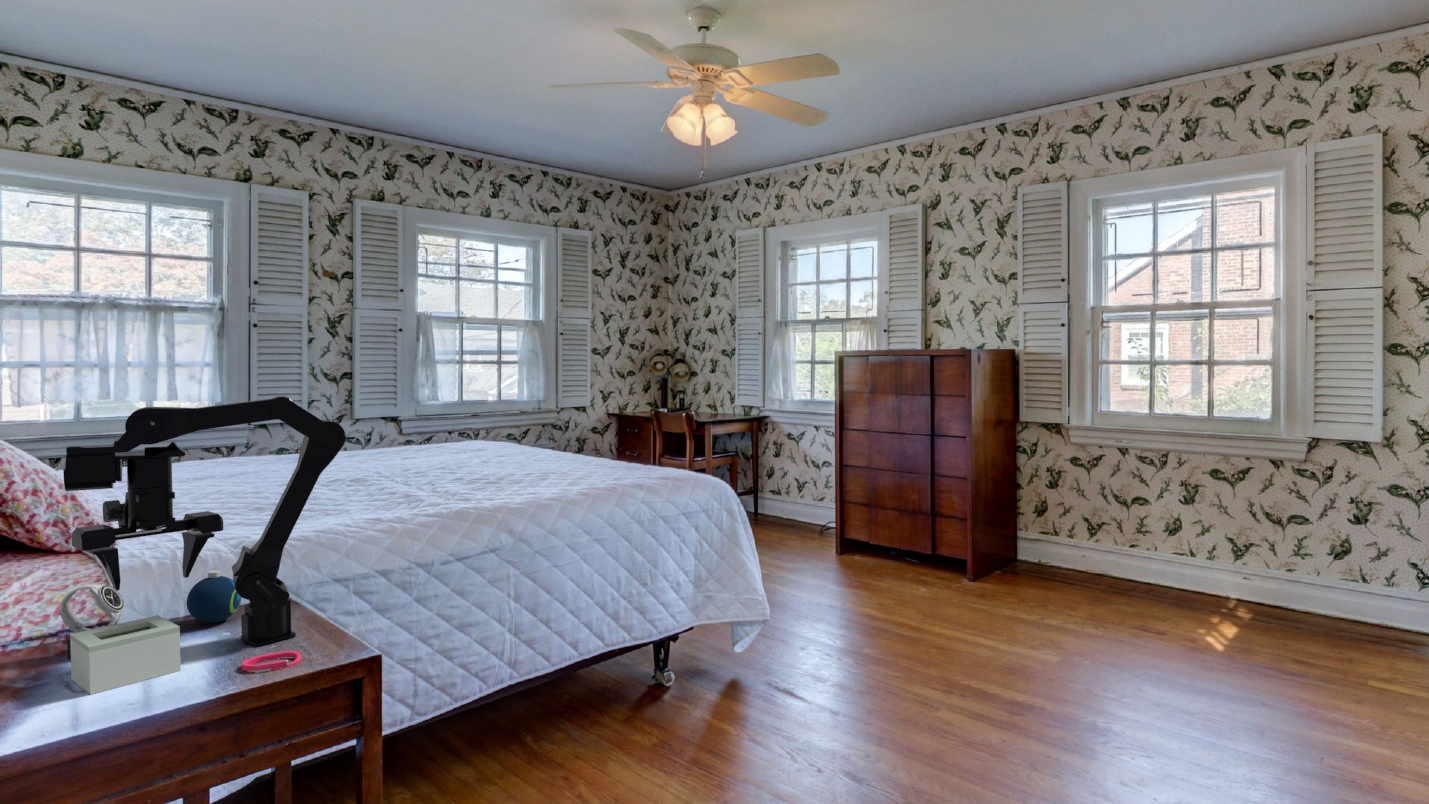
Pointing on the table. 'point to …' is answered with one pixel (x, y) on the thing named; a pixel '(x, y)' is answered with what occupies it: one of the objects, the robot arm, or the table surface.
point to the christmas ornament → (213, 598)
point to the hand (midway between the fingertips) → (152, 583)
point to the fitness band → (258, 668)
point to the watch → (103, 598)
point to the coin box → (124, 653)
